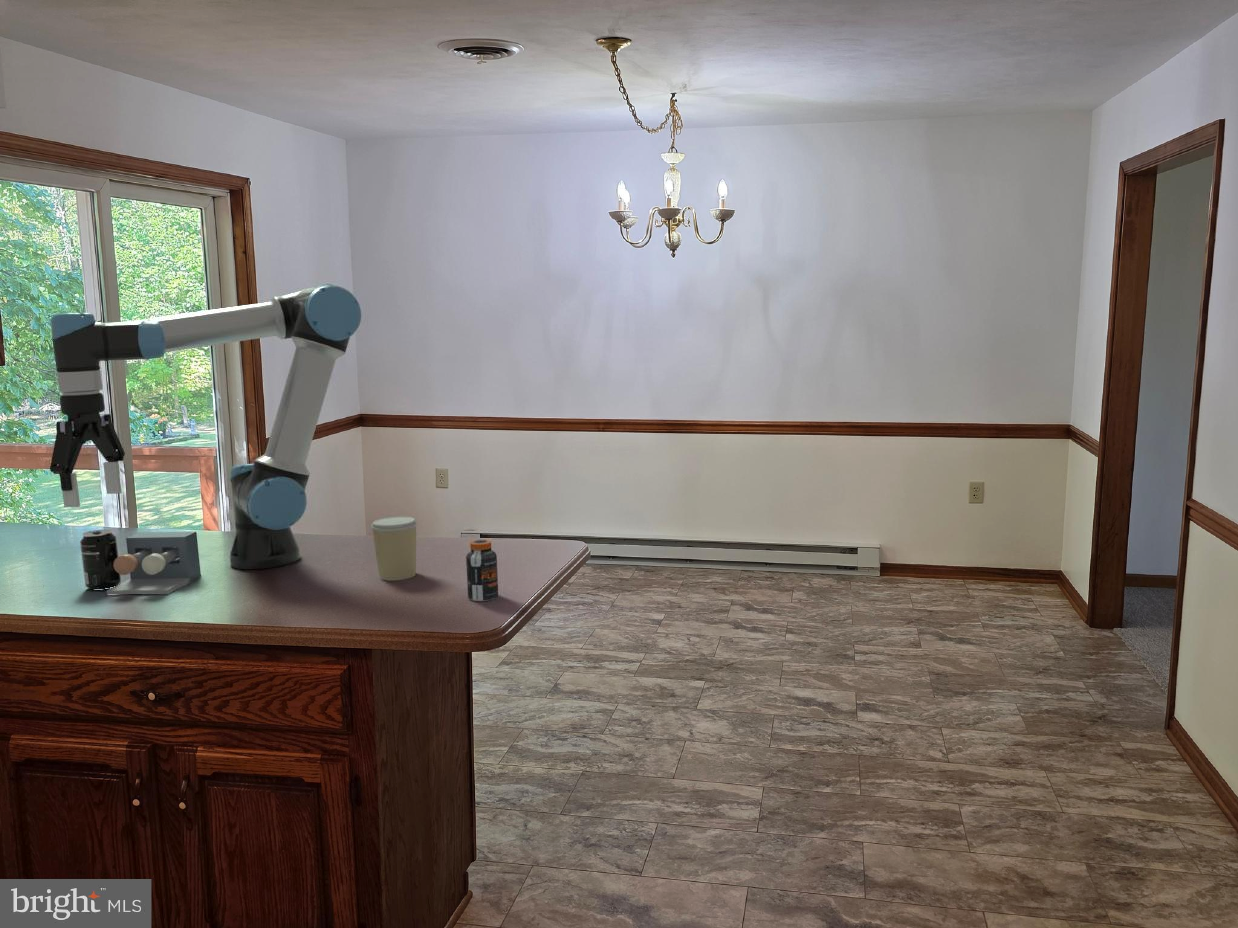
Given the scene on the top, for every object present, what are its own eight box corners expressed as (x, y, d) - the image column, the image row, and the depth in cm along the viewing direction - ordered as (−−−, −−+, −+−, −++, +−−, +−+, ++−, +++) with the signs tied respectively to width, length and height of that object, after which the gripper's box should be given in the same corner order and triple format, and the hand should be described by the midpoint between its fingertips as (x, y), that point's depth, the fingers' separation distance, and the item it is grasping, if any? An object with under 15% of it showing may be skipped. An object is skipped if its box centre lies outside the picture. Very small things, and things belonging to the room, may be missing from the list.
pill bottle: (485, 603, 188) (482, 546, 186) (461, 599, 191) (458, 542, 189) (504, 595, 193) (501, 539, 191) (481, 591, 196) (478, 536, 194)
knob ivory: (192, 558, 215) (190, 540, 214) (161, 574, 202) (159, 555, 201) (174, 558, 215) (172, 540, 214) (142, 574, 202) (140, 555, 201)
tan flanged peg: (165, 558, 215) (164, 541, 214) (133, 574, 202) (131, 555, 202) (148, 559, 215) (146, 541, 215) (114, 575, 202) (112, 556, 202)
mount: (200, 576, 215) (196, 531, 214) (168, 594, 201) (162, 547, 200) (143, 576, 216) (138, 532, 214) (107, 595, 202) (101, 548, 201)
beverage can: (115, 581, 213) (109, 527, 211) (126, 586, 208) (120, 531, 207) (81, 588, 209) (74, 533, 207) (91, 593, 204) (84, 537, 202)
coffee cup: (428, 571, 212) (425, 517, 211) (401, 583, 204) (398, 526, 202) (393, 568, 216) (389, 515, 215) (366, 579, 208) (361, 524, 206)
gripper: (101, 388, 204) (113, 488, 207) (19, 399, 179) (33, 513, 183) (135, 387, 203) (147, 488, 206) (58, 398, 179) (72, 512, 182)
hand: (93, 500), depth 195 cm, fingers open, 13 cm apart
